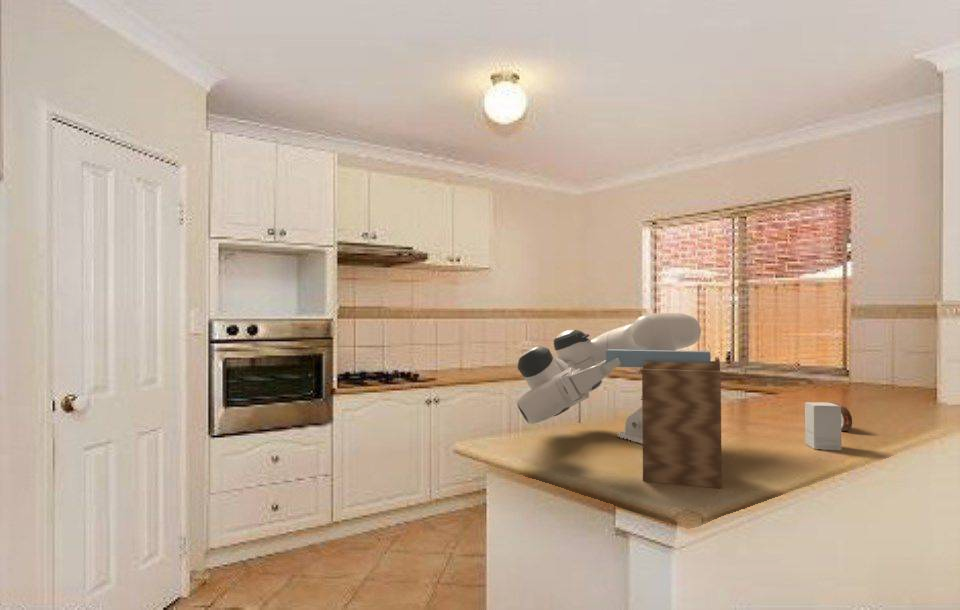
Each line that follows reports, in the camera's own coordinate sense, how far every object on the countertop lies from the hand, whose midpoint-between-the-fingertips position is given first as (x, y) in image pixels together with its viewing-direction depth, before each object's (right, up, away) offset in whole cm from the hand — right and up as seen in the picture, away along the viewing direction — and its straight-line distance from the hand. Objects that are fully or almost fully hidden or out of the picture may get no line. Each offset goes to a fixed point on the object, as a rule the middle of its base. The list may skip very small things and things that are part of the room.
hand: (622, 359), depth 143 cm
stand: (+13, -28, -5) cm, 31 cm away
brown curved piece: (+84, -28, +51) cm, 102 cm away
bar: (+8, -2, -3) cm, 9 cm away
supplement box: (+64, -28, +24) cm, 74 cm away
